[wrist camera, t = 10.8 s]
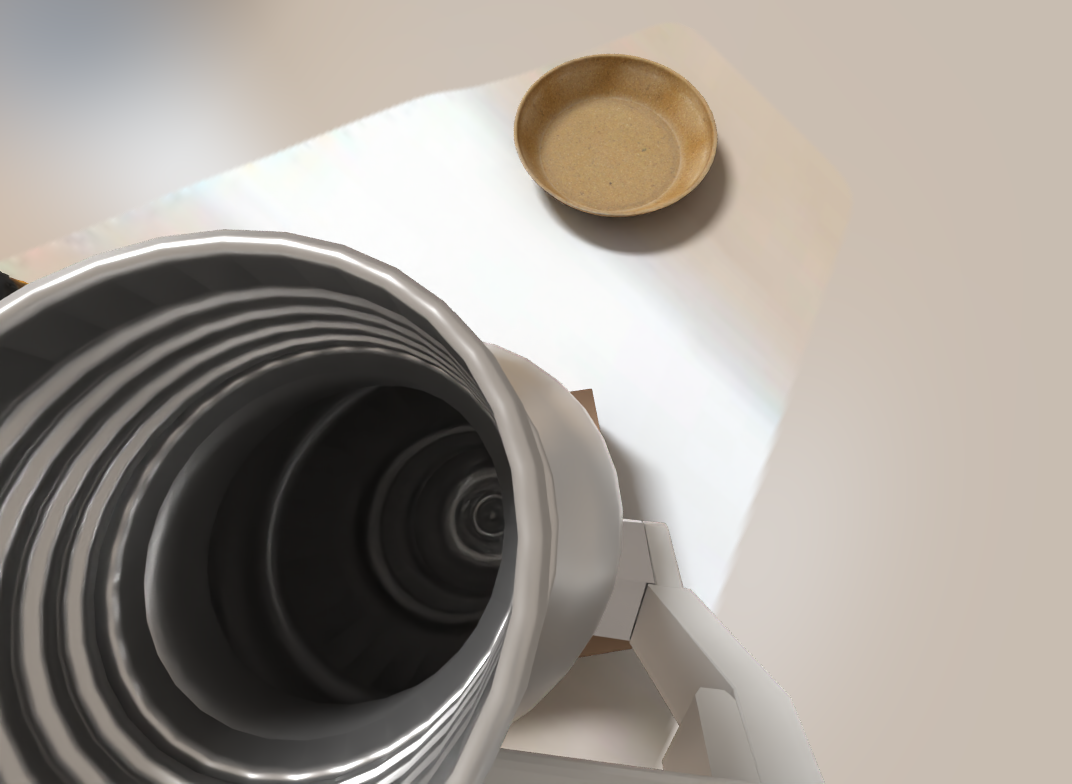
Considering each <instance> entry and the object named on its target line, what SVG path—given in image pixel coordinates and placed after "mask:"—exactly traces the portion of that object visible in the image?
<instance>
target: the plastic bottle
mask: <svg viewBox="0 0 1072 784" xmlns="http://www.w3.org/2000/svg"><path fill="white" fill-rule="evenodd" d="M622 529H623V507H622V501H621V495H620V489H619V483H618V477H617V472H616V469H615V467H614V464H613V461H612V459H611V456H610V453H609V451H608V448H607V445H606V443H605V440H604V438H603V436H602V435H601V433H600V431H599V430H598V428H597V427H596V425H595V423H594V422H593V420H592V419H591V417H590V415H589V414H588V412H587V411H586V409H585V408H584V407H583V406H582V405H581V404H580V403H579V401H578V400H577V399H576V398H575V397H574V396H573V395H572V394H571V393H570V392H569V391H568V390H567V389H566V388H565V387H564V386H563V385H562V384H561V383H560V382H559V381H558V380H556V379H555V378H554V377H552V376H551V375H549V374H548V373H547V372H545V371H544V370H542V369H541V368H540V367H538V366H537V365H535V364H534V363H532V362H531V361H530V360H528V359H527V358H524V357H522V356H520V355H518V354H515V353H513V352H511V351H509V350H506V349H504V348H502V347H500V346H497V345H495V344H490V343H486V342H482V341H481V340H480V339H479V338H478V337H477V336H476V335H475V334H474V332H473V331H472V330H471V329H470V328H469V327H468V326H467V325H466V324H465V323H464V322H463V321H462V319H461V318H460V317H459V316H458V315H457V314H456V313H455V312H453V311H452V310H451V308H450V307H449V306H448V305H447V304H446V303H445V302H444V301H443V300H441V299H440V298H438V297H437V296H436V295H434V294H433V293H431V292H430V291H428V290H427V289H426V288H424V287H423V286H421V285H420V284H419V283H417V282H416V281H414V280H413V279H411V278H410V277H409V276H407V275H406V274H404V273H403V272H402V271H400V270H399V269H397V268H395V267H393V266H391V265H388V264H386V263H384V262H382V261H379V260H377V259H375V258H372V257H370V256H368V255H365V254H363V253H361V252H359V251H356V250H354V249H352V248H349V247H347V246H345V245H341V244H337V243H332V242H328V241H324V240H319V239H315V238H310V237H306V236H301V235H297V234H292V233H288V232H273V231H250V230H227V229H224V230H215V231H207V232H198V233H190V234H181V235H173V236H165V237H159V238H155V239H151V240H148V241H144V242H140V243H137V244H133V245H129V246H126V247H122V248H118V249H115V250H111V251H108V252H104V253H100V254H97V255H94V256H91V257H89V258H87V259H84V260H82V261H80V262H77V263H75V264H73V265H70V266H68V267H66V268H63V269H61V270H59V271H57V272H54V273H52V274H50V275H47V276H45V277H43V278H40V279H38V280H36V281H33V282H31V283H29V284H27V285H25V286H24V287H22V288H20V289H19V290H17V291H15V292H14V293H12V294H10V295H9V296H7V297H5V298H4V299H2V300H0V784H483V782H484V780H485V777H486V775H487V774H488V772H489V771H490V769H491V768H492V765H493V763H494V761H495V759H496V756H497V754H498V752H499V750H500V747H501V745H502V743H503V741H504V738H505V736H506V734H507V732H508V729H509V727H510V725H511V724H512V723H513V722H515V721H516V720H518V719H519V718H520V717H522V716H523V715H525V714H526V713H528V712H529V711H530V710H532V709H533V708H534V707H535V706H536V705H537V704H538V703H539V702H540V701H541V700H542V699H543V698H544V697H545V696H546V695H547V694H548V693H549V692H550V691H551V690H552V689H553V687H554V686H555V685H556V684H557V683H558V682H559V681H560V680H561V679H562V678H563V677H564V676H565V675H566V674H567V673H568V671H569V670H570V669H571V667H572V666H573V664H574V663H575V661H576V660H577V658H578V657H579V655H580V654H581V652H582V651H583V649H584V648H585V646H586V645H587V643H588V642H589V640H590V639H591V637H592V636H593V634H594V633H595V631H596V629H597V627H598V625H599V623H600V620H601V618H602V615H603V613H604V611H605V608H606V606H607V603H608V601H609V599H610V596H611V594H612V592H613V589H614V584H615V579H616V575H617V570H618V566H619V561H620V556H621V552H622Z"/></svg>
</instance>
